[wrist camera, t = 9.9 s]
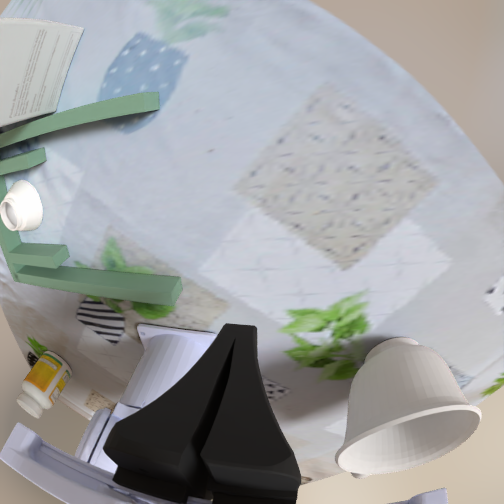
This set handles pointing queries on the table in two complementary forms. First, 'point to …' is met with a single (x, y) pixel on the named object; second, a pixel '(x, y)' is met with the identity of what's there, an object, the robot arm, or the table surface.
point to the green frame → (52, 256)
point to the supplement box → (33, 66)
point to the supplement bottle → (44, 383)
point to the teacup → (403, 411)
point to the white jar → (21, 207)
